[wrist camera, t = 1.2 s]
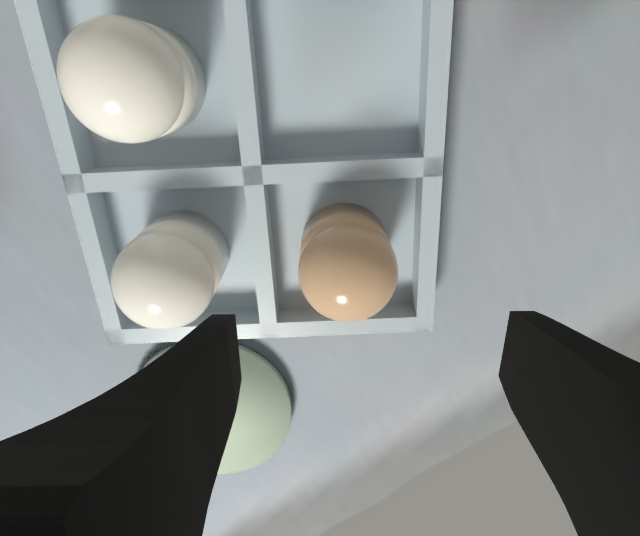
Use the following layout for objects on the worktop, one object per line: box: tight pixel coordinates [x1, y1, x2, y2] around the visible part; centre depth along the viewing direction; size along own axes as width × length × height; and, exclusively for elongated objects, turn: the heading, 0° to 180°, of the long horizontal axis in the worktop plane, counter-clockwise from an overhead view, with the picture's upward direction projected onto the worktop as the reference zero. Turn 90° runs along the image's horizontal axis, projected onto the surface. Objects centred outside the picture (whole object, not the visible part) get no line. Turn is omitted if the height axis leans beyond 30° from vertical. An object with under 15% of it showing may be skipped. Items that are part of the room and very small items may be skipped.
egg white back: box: [111, 210, 229, 330], centre depth 19 cm, size 4×4×5 cm
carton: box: [13, 0, 454, 345], centre depth 19 cm, size 16×16×2 cm
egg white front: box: [57, 15, 206, 144], centre depth 16 cm, size 4×4×5 cm
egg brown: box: [298, 203, 398, 322], centre depth 18 cm, size 4×4×5 cm
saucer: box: [142, 344, 291, 474], centre depth 25 cm, size 9×9×1 cm
